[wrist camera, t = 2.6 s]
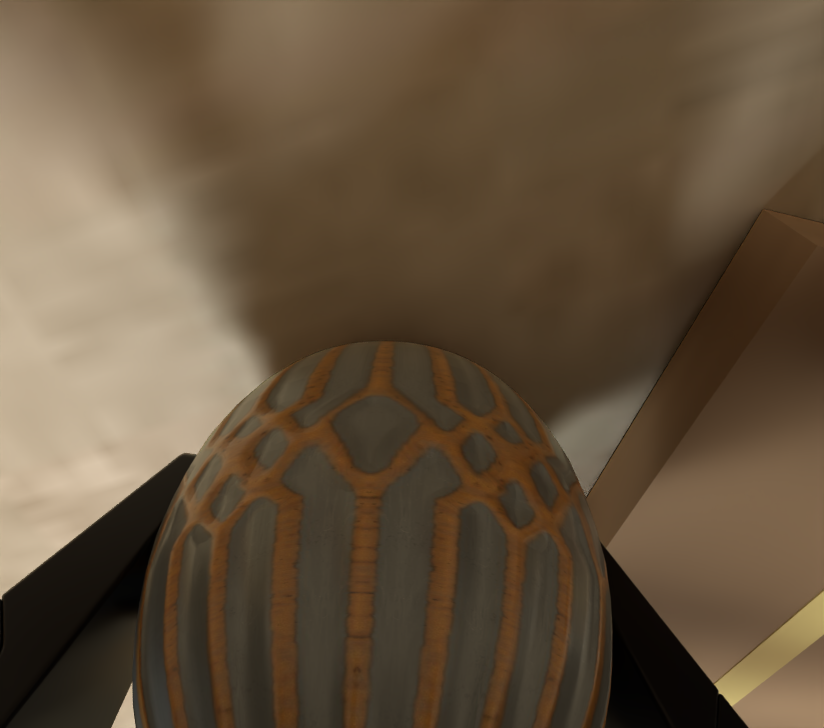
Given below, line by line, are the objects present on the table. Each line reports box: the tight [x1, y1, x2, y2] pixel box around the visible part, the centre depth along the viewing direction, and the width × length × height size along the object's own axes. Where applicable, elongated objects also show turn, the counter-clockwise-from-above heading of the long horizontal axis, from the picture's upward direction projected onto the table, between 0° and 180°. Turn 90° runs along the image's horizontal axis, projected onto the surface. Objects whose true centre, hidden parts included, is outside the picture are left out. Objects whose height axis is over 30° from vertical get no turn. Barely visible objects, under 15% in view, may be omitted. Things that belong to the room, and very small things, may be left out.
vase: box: [132, 341, 612, 728], centre depth 8 cm, size 7×7×9 cm
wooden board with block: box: [586, 209, 824, 728], centre depth 13 cm, size 20×12×6 cm, turn 168°
